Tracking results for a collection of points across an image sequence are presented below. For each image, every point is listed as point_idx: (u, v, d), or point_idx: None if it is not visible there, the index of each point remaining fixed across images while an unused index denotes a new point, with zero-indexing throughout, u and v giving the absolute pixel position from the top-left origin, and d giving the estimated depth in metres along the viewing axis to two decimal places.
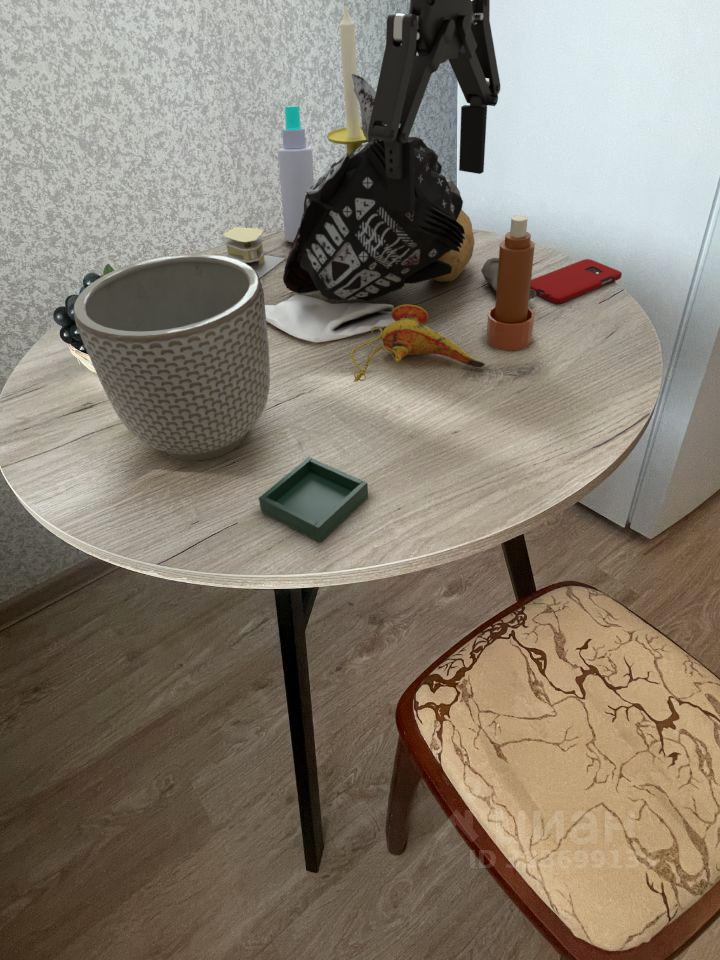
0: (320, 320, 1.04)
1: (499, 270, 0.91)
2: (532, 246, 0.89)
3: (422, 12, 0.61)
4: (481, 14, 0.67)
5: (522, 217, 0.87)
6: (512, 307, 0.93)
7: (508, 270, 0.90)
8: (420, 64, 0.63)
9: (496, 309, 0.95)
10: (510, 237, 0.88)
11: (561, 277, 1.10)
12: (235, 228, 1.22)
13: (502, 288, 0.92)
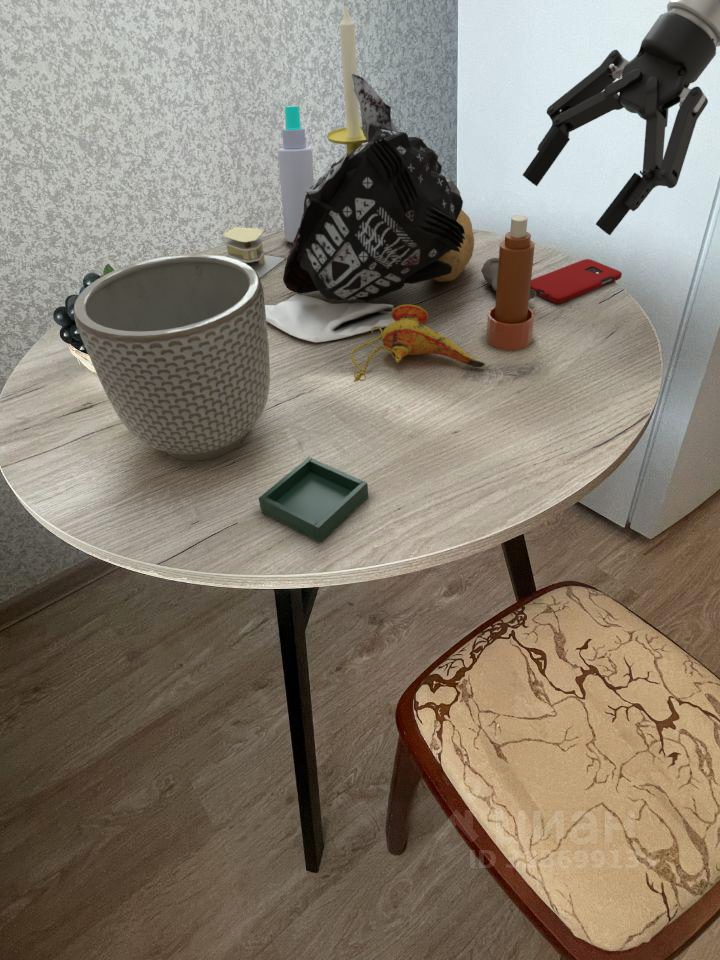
0: (320, 320, 1.04)
1: (499, 270, 0.91)
2: (532, 246, 0.89)
3: (631, 60, 0.80)
4: (683, 97, 0.75)
5: (522, 217, 0.87)
6: (512, 307, 0.93)
7: (508, 270, 0.90)
8: None
9: (496, 309, 0.95)
10: (510, 237, 0.88)
11: (561, 277, 1.10)
12: (235, 228, 1.22)
13: (502, 288, 0.92)
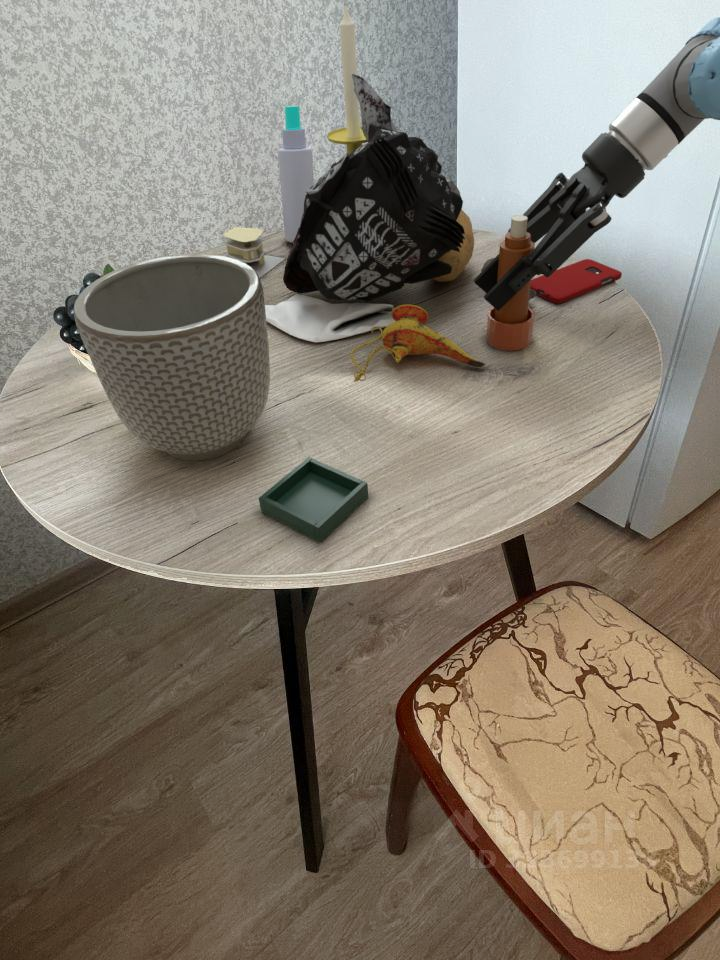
0: (320, 320, 1.04)
1: (499, 270, 0.91)
2: (532, 246, 0.89)
3: None
4: (589, 208, 0.83)
5: (522, 217, 0.87)
6: (512, 307, 0.93)
7: (508, 270, 0.90)
8: None
9: (496, 309, 0.95)
10: (510, 237, 0.88)
11: (561, 277, 1.10)
12: (235, 228, 1.22)
13: None
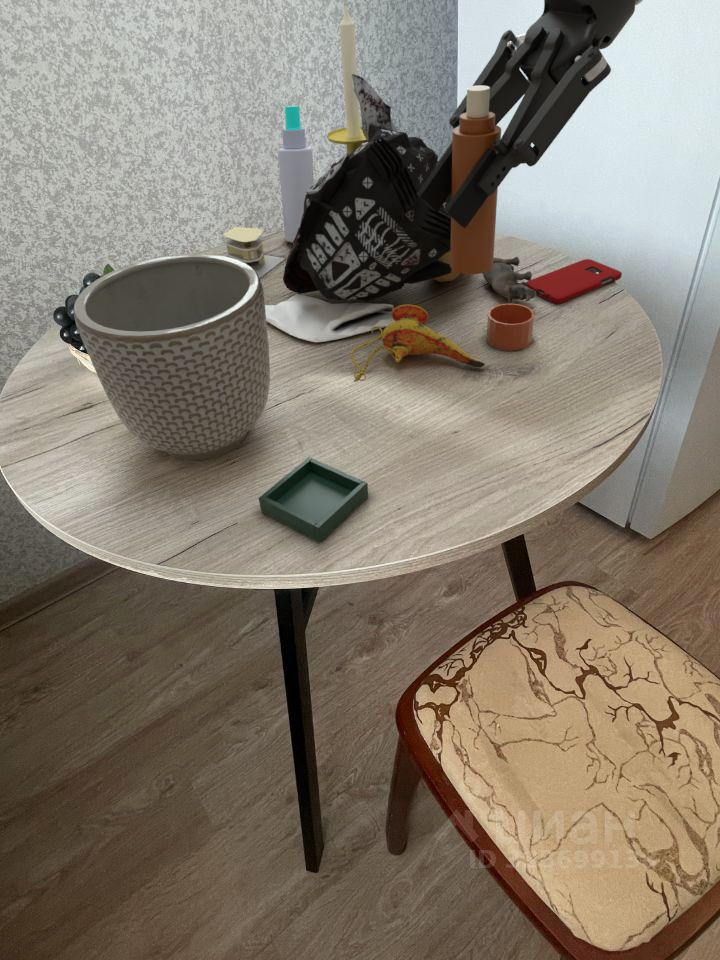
0: (320, 320, 1.04)
1: (456, 171, 0.65)
2: (499, 129, 0.63)
3: None
4: (579, 56, 0.59)
5: (482, 87, 0.62)
6: (480, 222, 0.67)
7: (472, 167, 0.64)
8: None
9: (454, 230, 0.69)
10: (469, 118, 0.62)
11: (561, 277, 1.10)
12: (235, 228, 1.22)
13: None
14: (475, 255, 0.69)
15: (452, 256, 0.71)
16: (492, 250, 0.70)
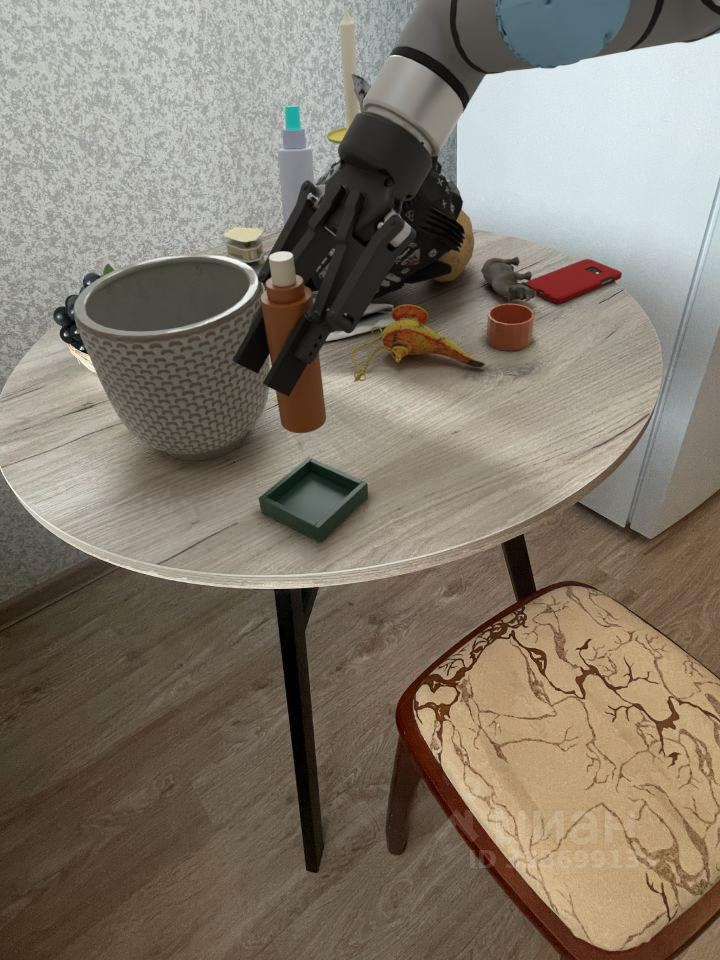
0: None
1: (271, 338, 0.60)
2: (309, 293, 0.59)
3: None
4: (381, 222, 0.55)
5: (284, 254, 0.57)
6: (304, 385, 0.62)
7: (287, 335, 0.59)
8: None
9: (279, 392, 0.64)
10: (276, 287, 0.57)
11: (561, 277, 1.10)
12: (235, 228, 1.22)
13: None
14: (304, 415, 0.64)
15: (281, 415, 0.66)
16: (322, 406, 0.66)
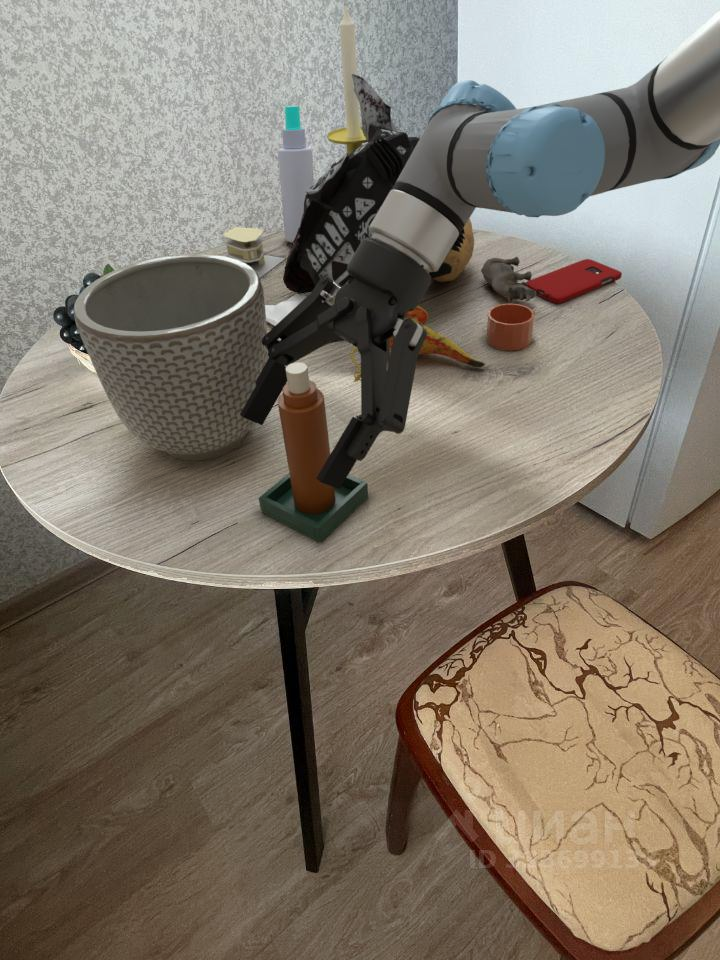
0: None
1: (287, 436, 0.67)
2: (321, 397, 0.66)
3: None
4: (396, 330, 0.61)
5: (299, 366, 0.64)
6: (316, 475, 0.69)
7: (301, 434, 0.66)
8: None
9: (293, 480, 0.71)
10: (292, 394, 0.64)
11: (561, 277, 1.10)
12: (235, 228, 1.22)
13: (297, 456, 0.68)
14: (316, 500, 0.71)
15: (295, 498, 0.73)
16: (332, 490, 0.72)
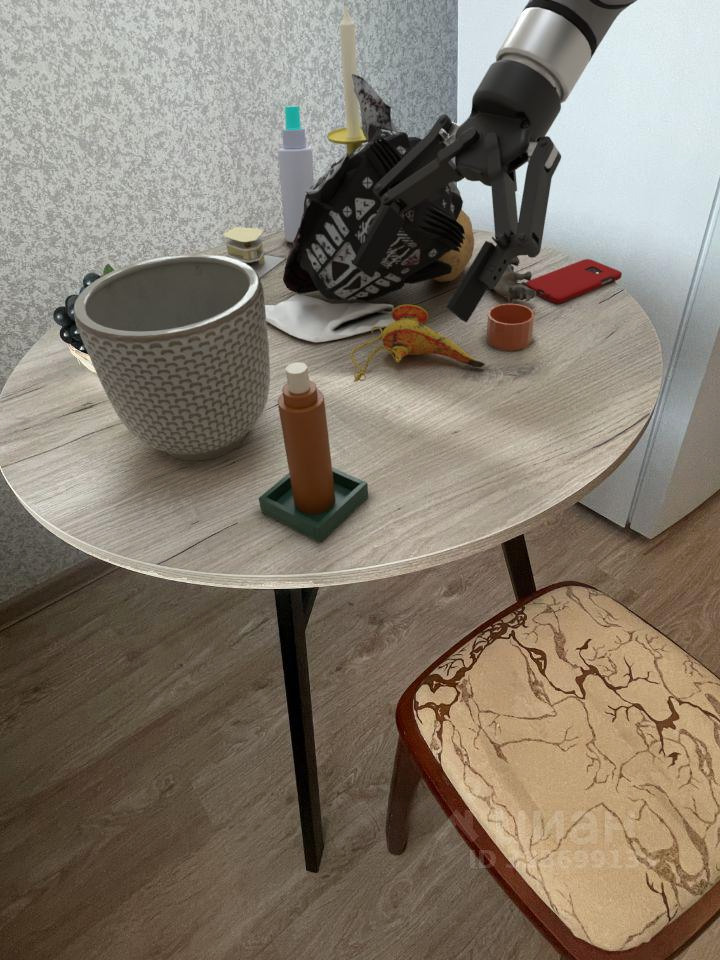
0: (320, 320, 1.04)
1: (287, 436, 0.67)
2: (321, 397, 0.66)
3: None
4: (531, 151, 0.60)
5: (299, 366, 0.64)
6: (316, 475, 0.69)
7: (301, 434, 0.66)
8: None
9: (293, 480, 0.71)
10: (292, 394, 0.64)
11: (561, 277, 1.10)
12: (235, 228, 1.22)
13: (297, 456, 0.68)
14: (316, 500, 0.71)
15: (295, 498, 0.73)
16: (332, 490, 0.72)
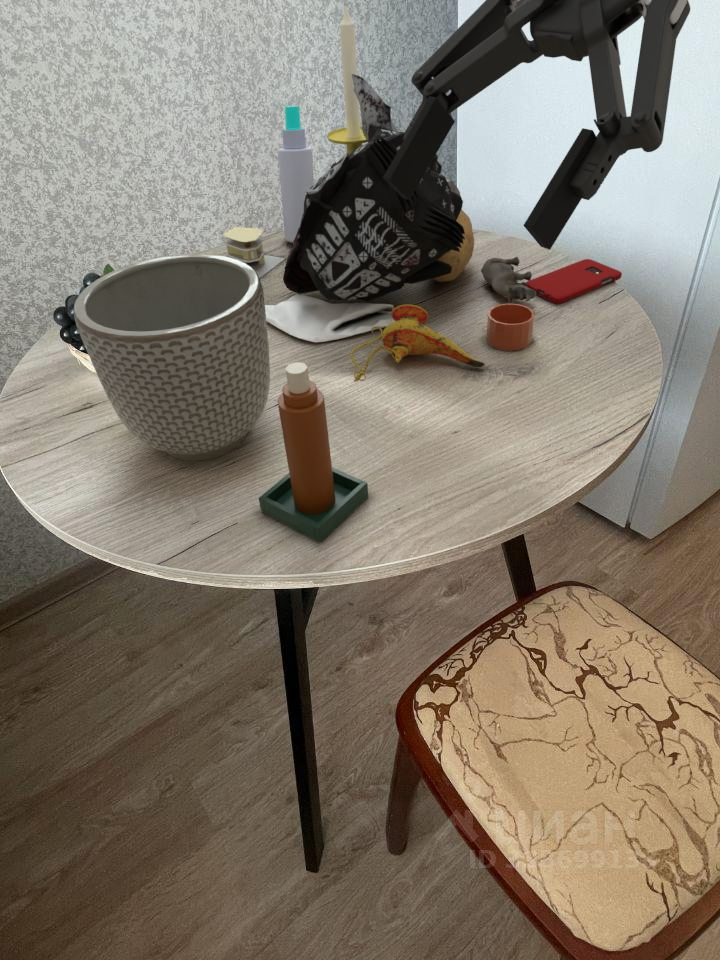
0: (320, 320, 1.04)
1: (287, 436, 0.67)
2: (321, 397, 0.66)
3: None
4: None
5: (299, 366, 0.64)
6: (316, 475, 0.69)
7: (301, 434, 0.66)
8: None
9: (293, 480, 0.71)
10: (292, 394, 0.64)
11: (561, 277, 1.10)
12: (235, 228, 1.22)
13: (297, 456, 0.68)
14: (316, 500, 0.71)
15: (295, 498, 0.73)
16: (332, 490, 0.72)
